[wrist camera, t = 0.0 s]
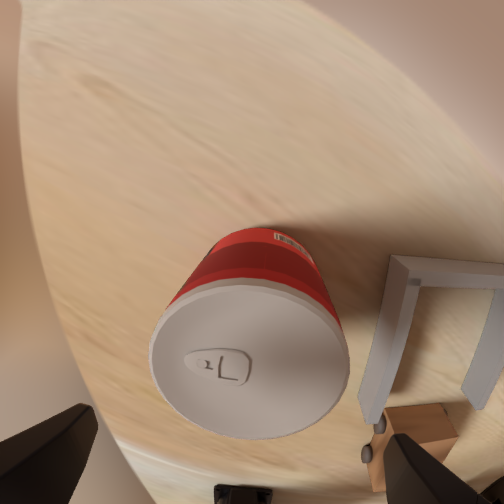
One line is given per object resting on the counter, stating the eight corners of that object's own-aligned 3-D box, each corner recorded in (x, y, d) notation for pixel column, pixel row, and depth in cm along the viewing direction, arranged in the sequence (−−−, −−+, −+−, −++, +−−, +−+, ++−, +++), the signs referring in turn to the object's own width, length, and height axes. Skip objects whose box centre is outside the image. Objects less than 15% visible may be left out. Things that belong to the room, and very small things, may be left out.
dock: (468, 387, 24) (483, 408, 20) (357, 397, 24) (365, 424, 21) (509, 264, 21) (533, 277, 17) (390, 254, 21) (409, 269, 18)
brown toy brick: (419, 449, 26) (433, 481, 21) (359, 456, 26) (367, 493, 22) (444, 402, 24) (463, 435, 19) (378, 408, 25) (392, 447, 20)
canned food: (193, 232, 22) (123, 292, 11) (313, 218, 21) (352, 271, 10) (212, 333, 24) (173, 441, 13) (320, 323, 23) (348, 433, 12)
